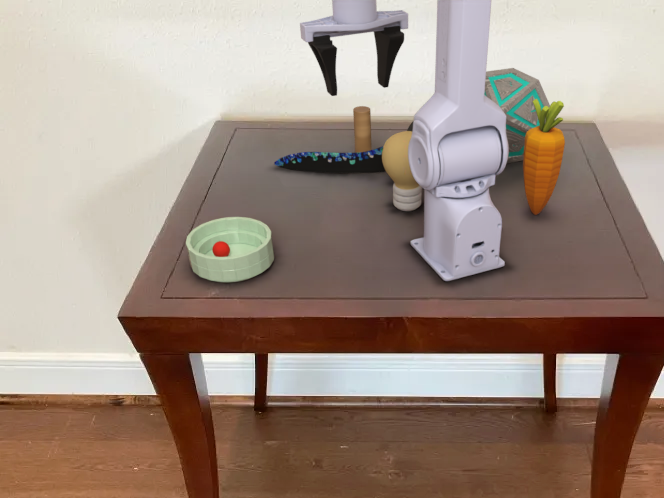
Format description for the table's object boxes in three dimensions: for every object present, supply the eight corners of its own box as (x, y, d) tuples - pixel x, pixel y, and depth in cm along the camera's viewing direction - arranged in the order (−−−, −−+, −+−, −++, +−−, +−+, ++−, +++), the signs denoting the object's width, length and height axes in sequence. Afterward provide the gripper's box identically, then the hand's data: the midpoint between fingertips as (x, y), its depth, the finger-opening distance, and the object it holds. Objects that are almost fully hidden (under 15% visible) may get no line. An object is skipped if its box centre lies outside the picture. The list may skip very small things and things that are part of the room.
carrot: (509, 209, 96) (521, 94, 86) (543, 203, 97) (557, 89, 88) (527, 226, 92) (541, 109, 83) (561, 220, 94) (579, 103, 84)
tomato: (229, 262, 86) (212, 261, 85) (225, 250, 87) (209, 250, 86) (233, 249, 85) (216, 249, 84) (229, 238, 86) (212, 237, 85)
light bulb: (400, 223, 93) (399, 147, 87) (374, 203, 97) (371, 130, 91) (440, 210, 96) (443, 136, 90) (413, 191, 100) (414, 119, 94)
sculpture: (526, 175, 121) (519, 186, 93) (454, 137, 122) (426, 137, 94) (565, 100, 117) (571, 89, 89) (491, 61, 117) (473, 38, 89)
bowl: (285, 273, 84) (281, 247, 82) (202, 293, 81) (196, 266, 79) (261, 235, 91) (257, 210, 89) (183, 253, 88) (178, 227, 85)
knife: (488, 176, 101) (486, 144, 98) (484, 185, 98) (482, 153, 96) (285, 173, 109) (279, 144, 106) (277, 182, 107) (270, 152, 104)
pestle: (379, 166, 106) (378, 111, 101) (356, 170, 105) (354, 115, 100) (370, 156, 109) (368, 102, 104) (348, 160, 108) (345, 106, 103)
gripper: (392, -32, 98) (393, 73, 106) (288, -21, 93) (298, 88, 102) (415, -21, 93) (414, 88, 101) (307, -9, 88) (316, 104, 97)
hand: (358, 89), depth 101 cm, fingers open, 7 cm apart
